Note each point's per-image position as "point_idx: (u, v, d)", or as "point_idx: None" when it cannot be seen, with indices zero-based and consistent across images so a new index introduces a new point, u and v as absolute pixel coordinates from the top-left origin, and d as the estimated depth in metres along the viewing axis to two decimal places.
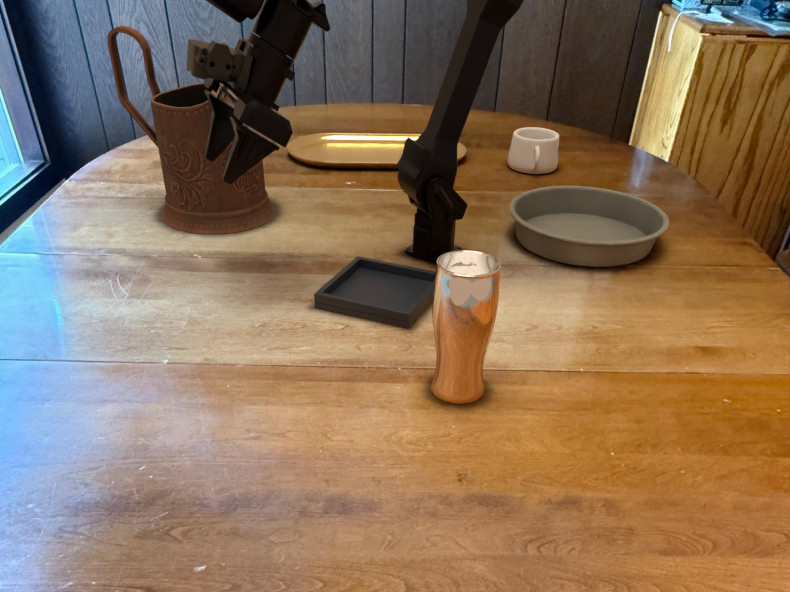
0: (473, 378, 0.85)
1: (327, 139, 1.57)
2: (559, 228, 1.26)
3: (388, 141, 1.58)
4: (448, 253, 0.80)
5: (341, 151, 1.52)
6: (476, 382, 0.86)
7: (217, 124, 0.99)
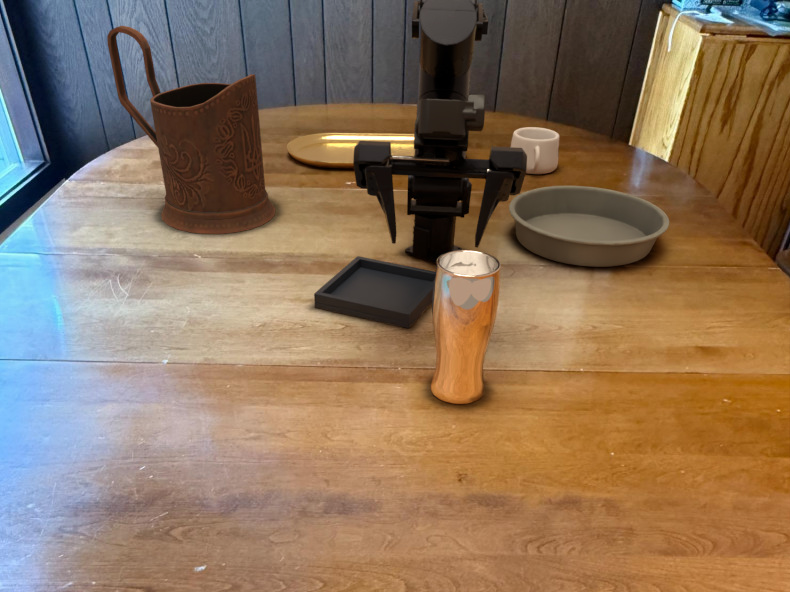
0: (473, 378, 0.85)
1: (327, 139, 1.57)
2: (559, 228, 1.26)
3: (388, 141, 1.58)
4: (448, 253, 0.80)
5: (341, 151, 1.52)
6: (476, 382, 0.86)
7: None
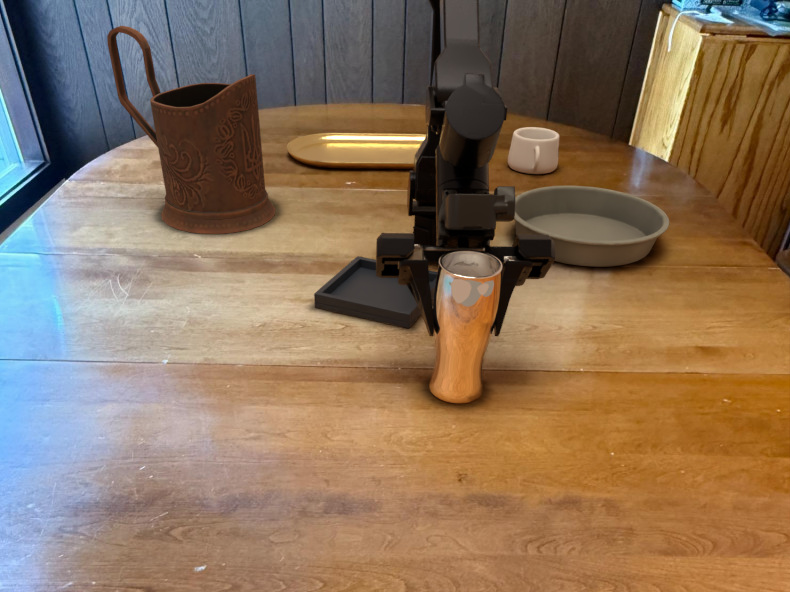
0: (472, 378, 0.85)
1: (327, 139, 1.57)
2: (559, 228, 1.26)
3: (388, 141, 1.58)
4: (450, 252, 0.80)
5: (341, 151, 1.52)
6: (475, 382, 0.86)
7: None
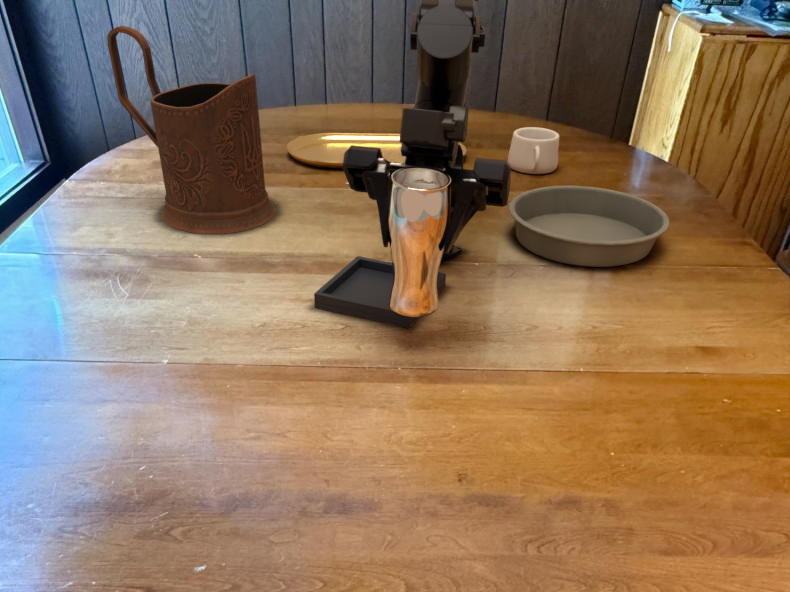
0: (422, 293, 0.90)
1: (327, 139, 1.57)
2: (559, 228, 1.26)
3: (388, 141, 1.58)
4: (408, 168, 0.85)
5: (341, 151, 1.52)
6: (425, 297, 0.91)
7: None
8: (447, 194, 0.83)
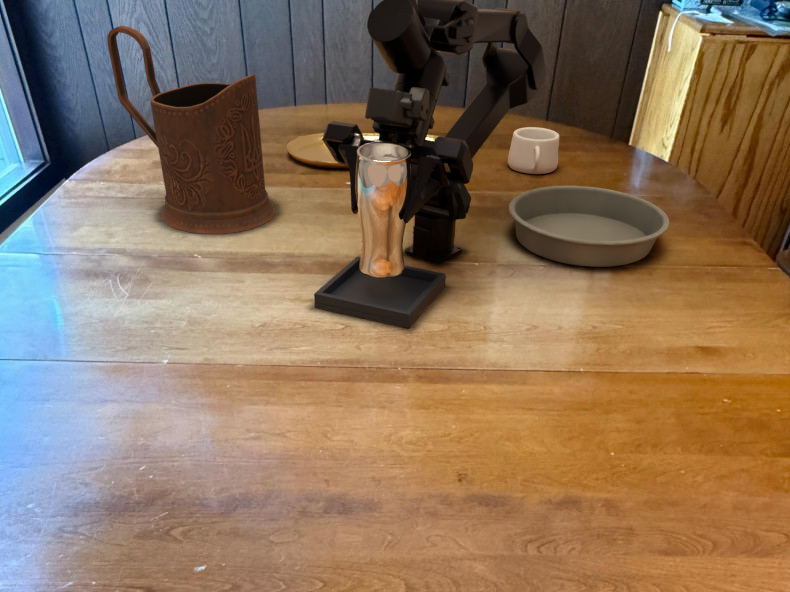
0: (384, 257, 1.00)
1: None
2: (559, 228, 1.26)
3: None
4: (377, 143, 0.95)
5: None
6: (388, 262, 1.00)
7: None
8: (404, 167, 0.92)
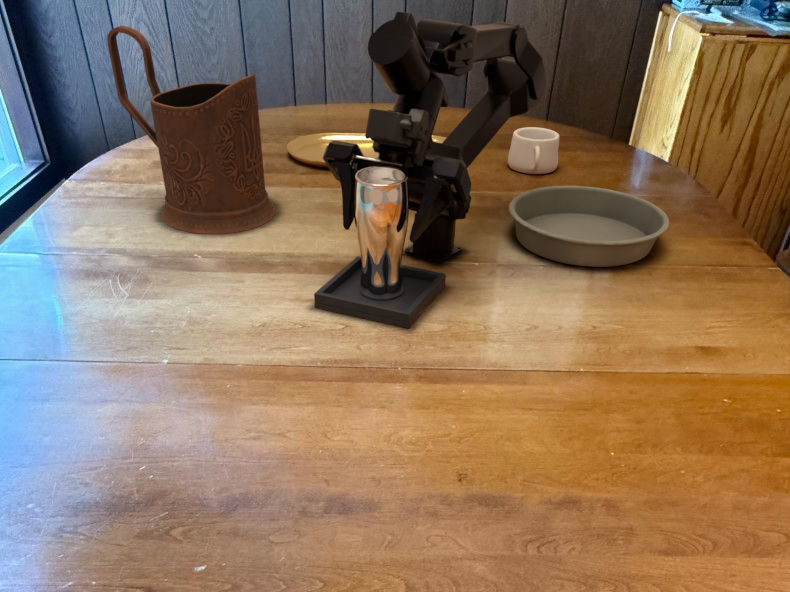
0: (383, 278, 1.02)
1: (327, 139, 1.57)
2: (559, 228, 1.26)
3: None
4: (375, 167, 0.97)
5: None
6: (387, 282, 1.02)
7: (352, 193, 1.00)
8: (401, 190, 0.95)
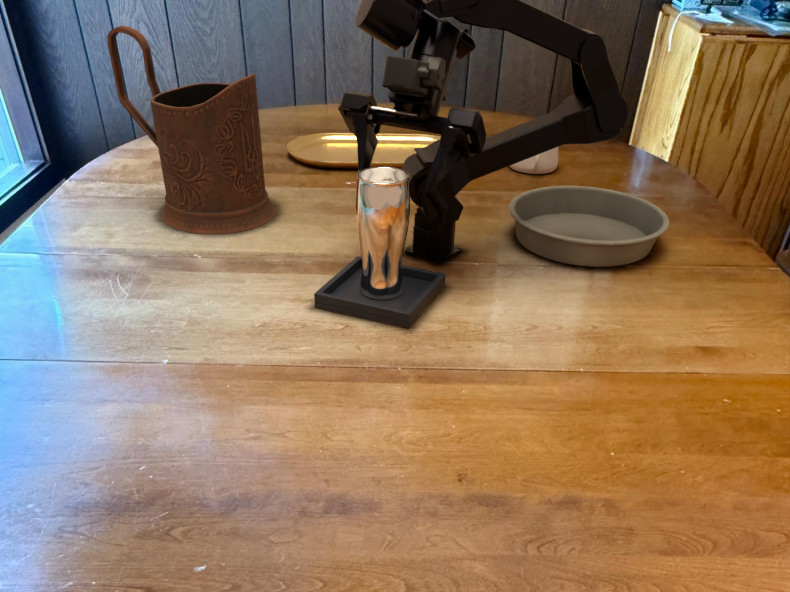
0: (384, 278, 1.02)
1: (327, 139, 1.57)
2: (559, 228, 1.26)
3: (388, 141, 1.58)
4: (377, 167, 0.98)
5: (341, 151, 1.52)
6: (387, 282, 1.02)
7: (367, 143, 1.00)
8: (403, 189, 0.95)
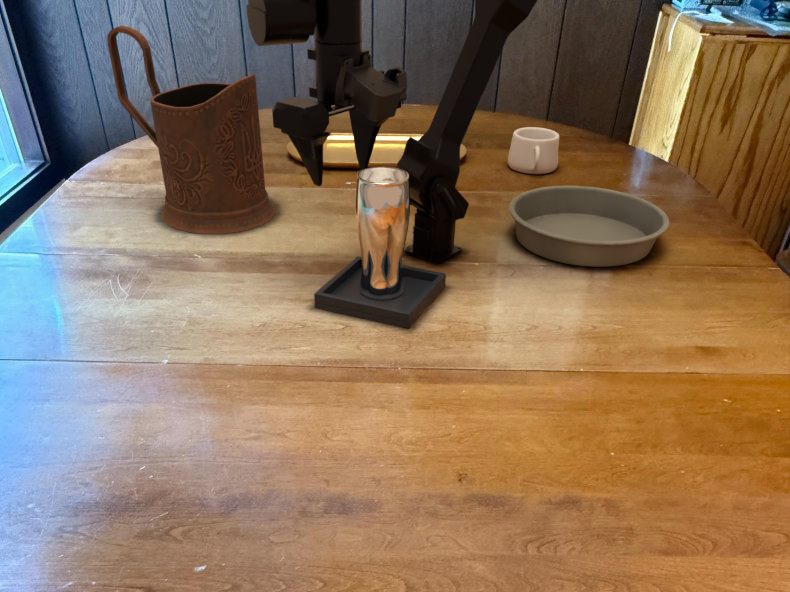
0: (384, 278, 1.02)
1: (327, 139, 1.57)
2: (559, 228, 1.26)
3: (388, 141, 1.58)
4: (377, 167, 0.98)
5: (341, 151, 1.52)
6: (387, 282, 1.02)
7: None
8: (403, 189, 0.95)
